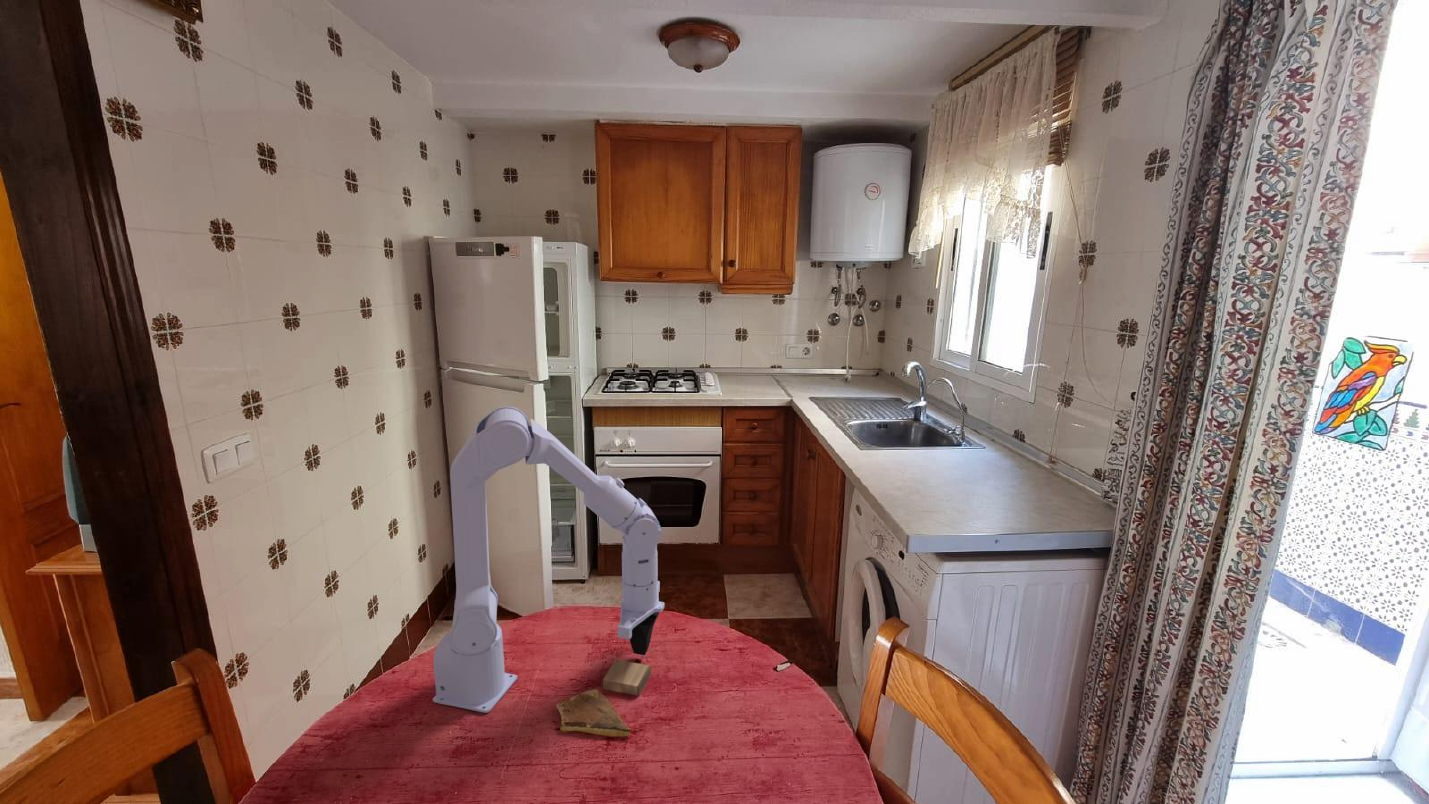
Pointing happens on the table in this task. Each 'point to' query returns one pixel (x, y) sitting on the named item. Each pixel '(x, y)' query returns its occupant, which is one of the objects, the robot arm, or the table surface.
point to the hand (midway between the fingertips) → (640, 651)
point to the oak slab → (627, 677)
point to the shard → (591, 715)
